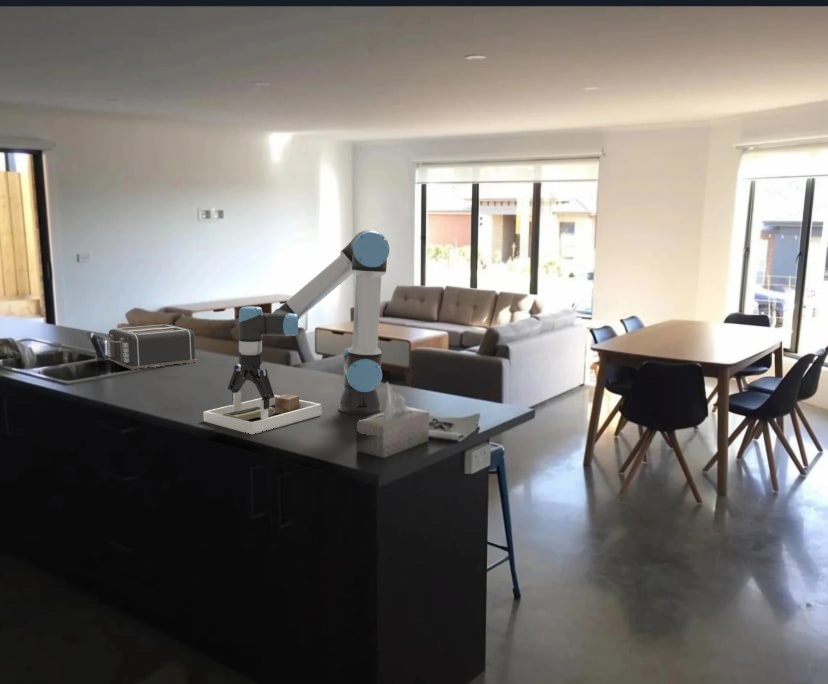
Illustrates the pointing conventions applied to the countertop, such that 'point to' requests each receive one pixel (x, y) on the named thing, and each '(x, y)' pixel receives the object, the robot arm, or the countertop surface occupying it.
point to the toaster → (151, 346)
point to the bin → (303, 413)
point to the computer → (248, 413)
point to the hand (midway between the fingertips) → (250, 414)
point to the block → (286, 403)
